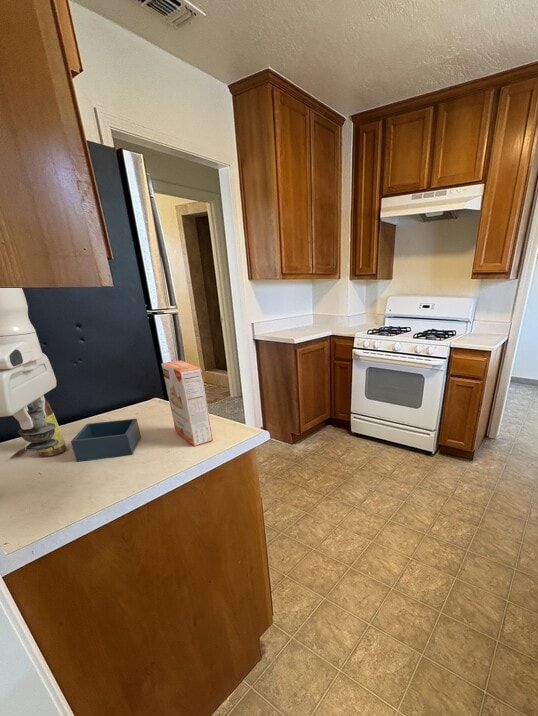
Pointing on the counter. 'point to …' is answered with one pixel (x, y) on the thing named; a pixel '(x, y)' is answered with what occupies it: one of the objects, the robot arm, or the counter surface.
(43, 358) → the robot arm
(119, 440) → the bin
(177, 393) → the cracker box
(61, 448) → the sauce bottle
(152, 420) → the counter surface
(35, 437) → the grey chess piece
